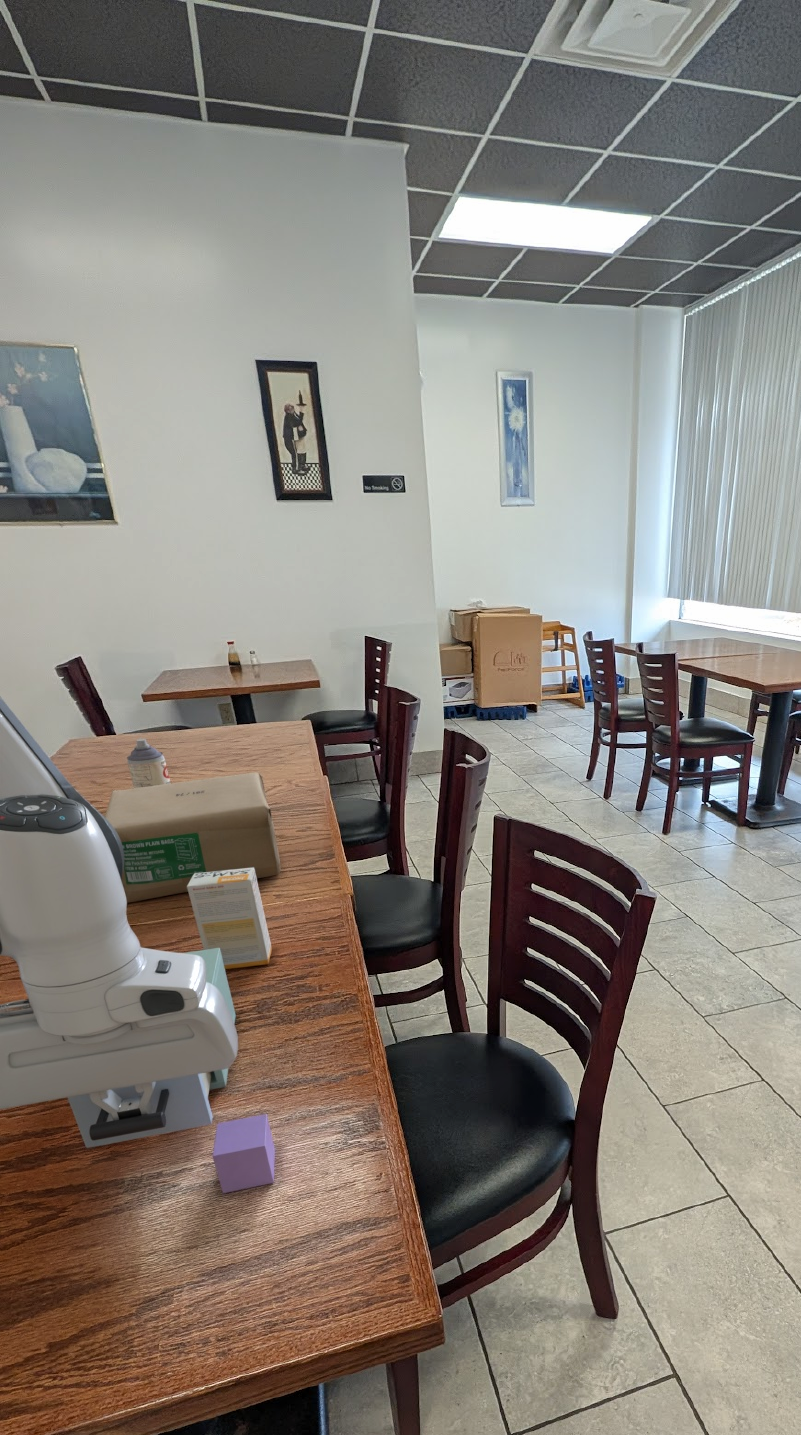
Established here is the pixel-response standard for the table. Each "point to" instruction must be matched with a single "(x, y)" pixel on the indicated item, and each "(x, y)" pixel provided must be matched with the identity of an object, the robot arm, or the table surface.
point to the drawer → (172, 1111)
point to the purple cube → (244, 1153)
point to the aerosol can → (147, 766)
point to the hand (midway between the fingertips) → (135, 1119)
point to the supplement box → (231, 916)
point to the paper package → (192, 832)
